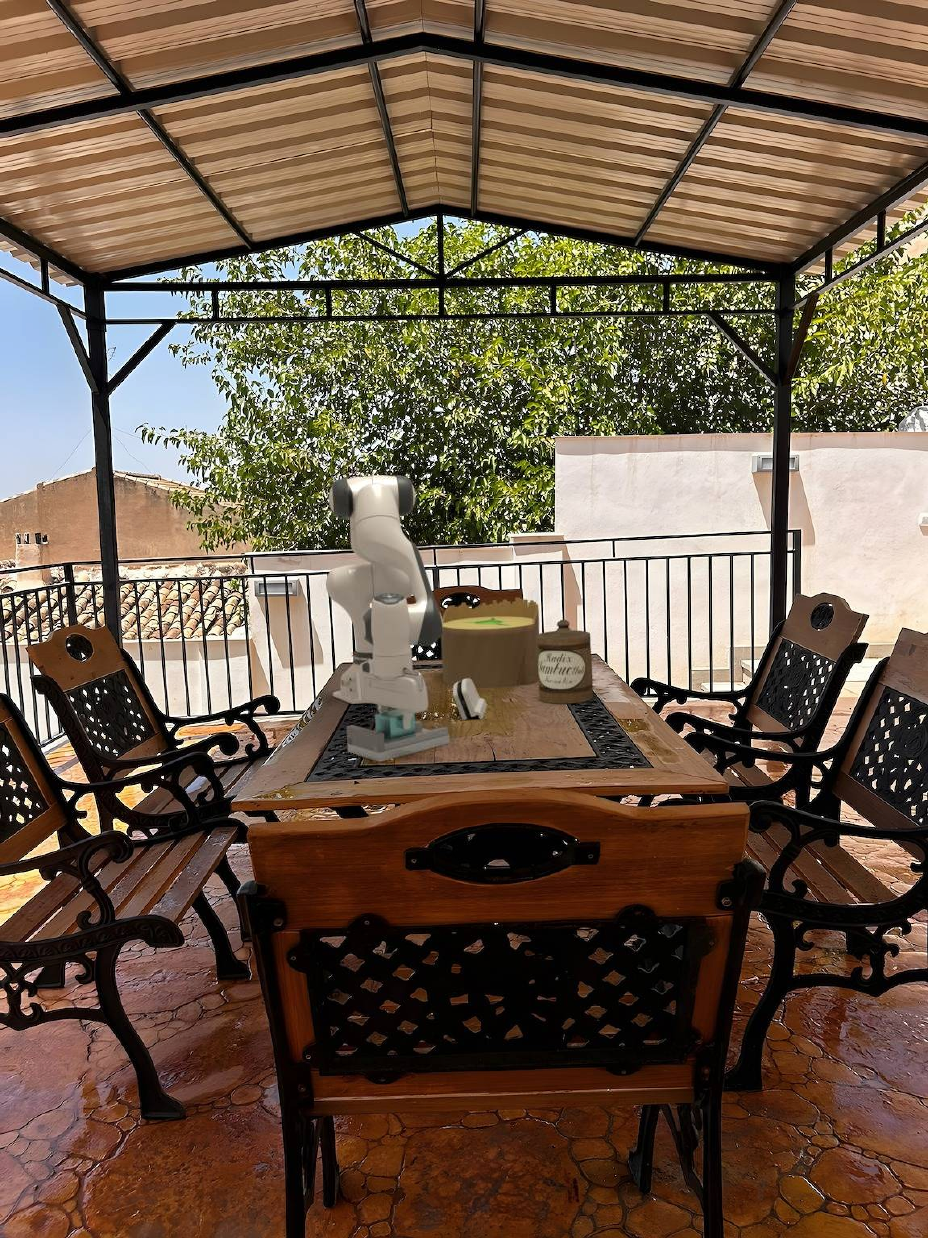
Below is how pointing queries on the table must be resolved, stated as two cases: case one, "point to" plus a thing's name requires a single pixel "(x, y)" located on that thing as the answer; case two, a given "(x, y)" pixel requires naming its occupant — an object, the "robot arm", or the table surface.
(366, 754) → the guide channel
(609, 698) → the table surface
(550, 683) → the wooden container
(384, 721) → the block
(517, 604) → the brown wide cylinder
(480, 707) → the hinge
